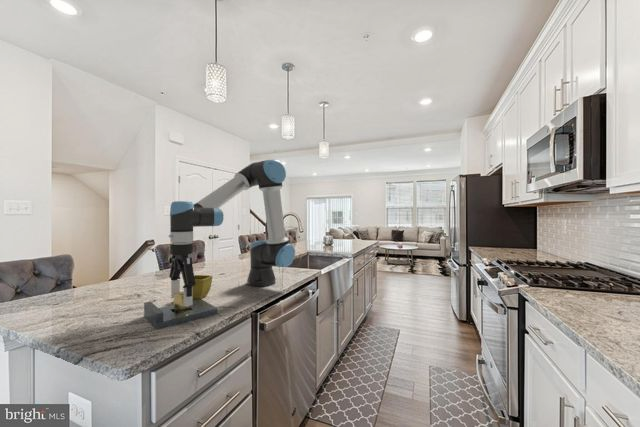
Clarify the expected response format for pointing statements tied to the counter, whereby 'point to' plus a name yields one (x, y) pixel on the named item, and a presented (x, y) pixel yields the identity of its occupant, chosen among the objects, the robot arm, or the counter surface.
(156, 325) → the jig
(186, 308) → the bushing
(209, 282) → the flower pot
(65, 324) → the counter surface
